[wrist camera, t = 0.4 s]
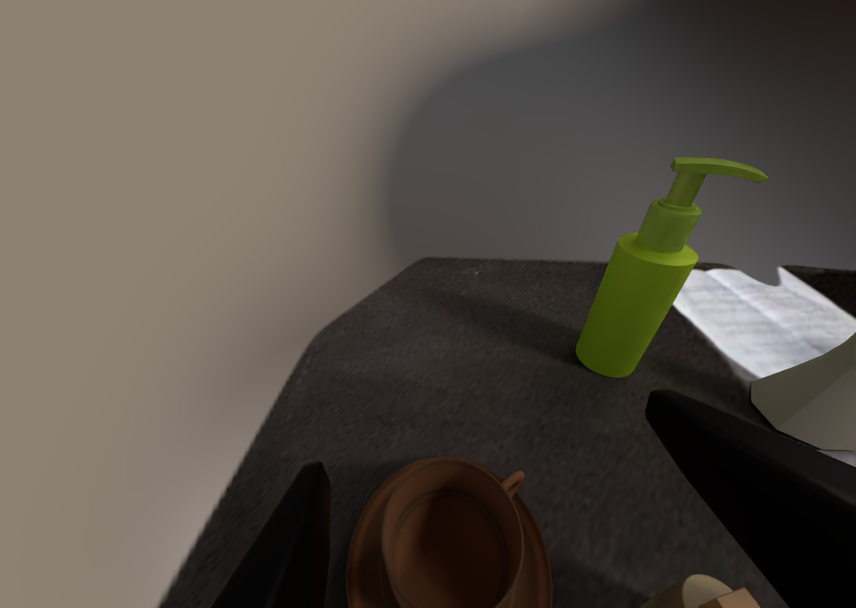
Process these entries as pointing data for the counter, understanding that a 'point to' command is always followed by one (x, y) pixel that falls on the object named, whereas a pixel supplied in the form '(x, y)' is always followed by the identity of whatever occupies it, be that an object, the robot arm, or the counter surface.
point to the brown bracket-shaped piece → (701, 595)
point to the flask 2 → (814, 399)
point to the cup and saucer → (448, 542)
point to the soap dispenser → (649, 271)
